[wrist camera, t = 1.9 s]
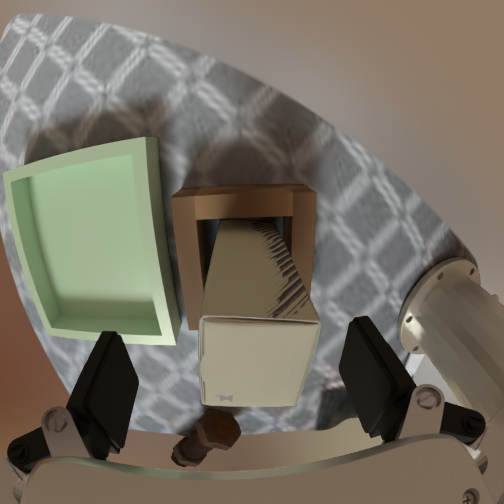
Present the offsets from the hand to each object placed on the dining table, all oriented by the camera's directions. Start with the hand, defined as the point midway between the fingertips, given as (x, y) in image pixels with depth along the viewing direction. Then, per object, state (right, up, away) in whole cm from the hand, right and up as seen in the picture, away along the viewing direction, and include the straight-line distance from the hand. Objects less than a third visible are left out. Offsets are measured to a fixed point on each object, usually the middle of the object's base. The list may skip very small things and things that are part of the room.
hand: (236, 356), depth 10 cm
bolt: (-7, -21, +22) cm, 31 cm away
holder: (0, +4, +11) cm, 12 cm away
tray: (-13, +5, +10) cm, 17 cm away
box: (0, +4, +11) cm, 12 cm away
